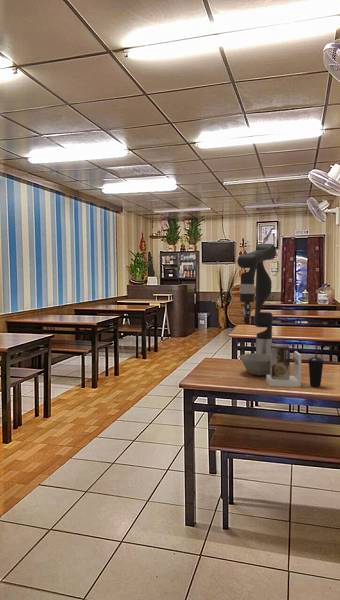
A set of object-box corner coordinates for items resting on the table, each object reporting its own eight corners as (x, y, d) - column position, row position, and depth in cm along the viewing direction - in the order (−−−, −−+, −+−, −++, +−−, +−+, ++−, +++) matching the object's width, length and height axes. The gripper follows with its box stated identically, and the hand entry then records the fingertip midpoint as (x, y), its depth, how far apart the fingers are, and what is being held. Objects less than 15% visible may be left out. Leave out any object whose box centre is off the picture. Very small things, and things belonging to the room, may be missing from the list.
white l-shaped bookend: (266, 380, 224) (267, 350, 223) (295, 381, 222) (296, 351, 222) (269, 386, 212) (270, 354, 211) (300, 387, 210) (301, 355, 210)
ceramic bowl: (284, 373, 242) (285, 355, 242) (272, 381, 222) (273, 362, 222) (247, 368, 254) (248, 351, 253) (233, 375, 234) (233, 357, 233)
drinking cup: (319, 384, 217) (320, 345, 216) (325, 388, 209) (326, 348, 208) (305, 384, 216) (306, 345, 215) (310, 388, 209) (311, 347, 208)
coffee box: (287, 376, 220) (288, 345, 219) (289, 379, 213) (290, 347, 213) (269, 376, 221) (270, 345, 220) (271, 378, 214) (272, 347, 214)
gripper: (255, 293, 214) (255, 325, 215) (253, 292, 228) (252, 322, 229) (240, 293, 215) (240, 324, 216) (239, 292, 229) (238, 322, 230)
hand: (246, 323), depth 222 cm, fingers open, 8 cm apart
